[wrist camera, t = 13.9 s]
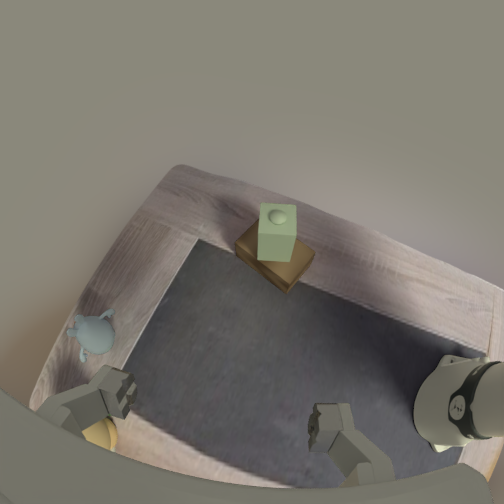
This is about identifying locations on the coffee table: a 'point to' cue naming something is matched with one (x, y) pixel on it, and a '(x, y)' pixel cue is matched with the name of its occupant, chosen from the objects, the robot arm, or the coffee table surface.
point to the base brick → (274, 271)
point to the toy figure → (93, 333)
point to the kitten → (102, 434)
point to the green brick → (276, 232)
